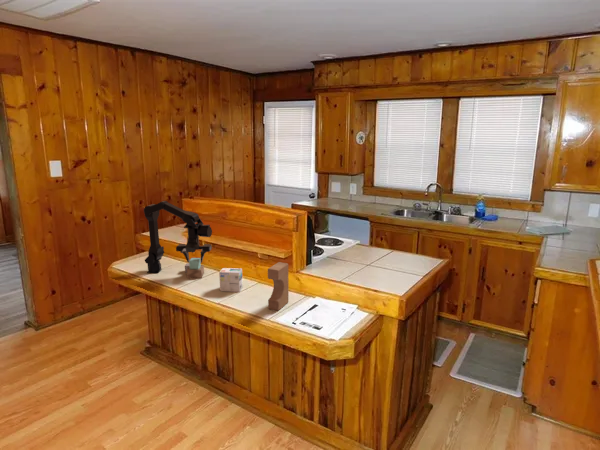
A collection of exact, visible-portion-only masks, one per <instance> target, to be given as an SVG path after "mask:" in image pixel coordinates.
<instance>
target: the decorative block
mask: <svg viewBox="0 0 600 450" xmlns="http://www.w3.org/2000/svg"><path fill="white" fill-rule="evenodd" d="M267 279H269V280H272V282H273V289H272V293H271V295H270V297H269V298H268V301H267V305H268V306H267V307H268V310H272V311H278V312H279V311H280V310H281V309H282V308H283V307H284V306H286V305H287V304H288V303H289V263H287V262H281V261H278V262H277V263H275V264H274V265H272V266H270V267H269V268H267Z"/></svg>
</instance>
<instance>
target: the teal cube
mask: <svg viewBox="0 0 600 450" xmlns="http://www.w3.org/2000/svg"><path fill="white" fill-rule="evenodd" d="M188 263H189V267H190V269H199V268H200V267H201V265H202V264H201V257H191V258H189V262H188Z"/></svg>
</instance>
